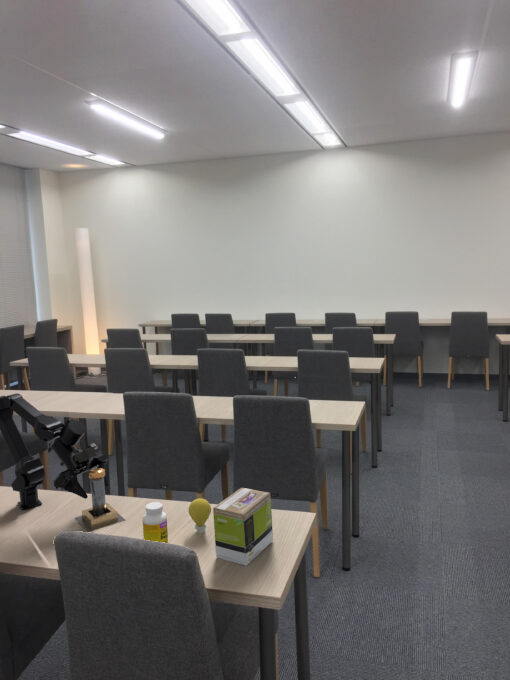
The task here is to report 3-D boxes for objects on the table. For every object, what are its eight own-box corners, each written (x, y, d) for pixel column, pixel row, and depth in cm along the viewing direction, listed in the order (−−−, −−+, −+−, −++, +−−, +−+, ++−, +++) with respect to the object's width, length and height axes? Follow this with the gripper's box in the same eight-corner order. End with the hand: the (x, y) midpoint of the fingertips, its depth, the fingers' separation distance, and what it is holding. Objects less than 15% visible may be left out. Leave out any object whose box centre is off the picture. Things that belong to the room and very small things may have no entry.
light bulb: (202, 523, 168) (201, 492, 167) (216, 530, 163) (215, 498, 162) (185, 531, 163) (183, 499, 162) (199, 539, 159) (197, 506, 157)
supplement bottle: (163, 556, 150) (160, 511, 148) (140, 554, 151) (137, 510, 149) (171, 544, 156) (169, 501, 154) (149, 542, 158) (147, 499, 156)
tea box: (243, 533, 161) (241, 485, 159) (273, 541, 156) (272, 492, 154) (214, 558, 148) (212, 506, 146) (246, 567, 143) (244, 513, 141)
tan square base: (74, 520, 173) (73, 510, 173) (111, 509, 180) (110, 499, 180) (88, 534, 163) (87, 524, 163) (126, 522, 170) (125, 512, 170)
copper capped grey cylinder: (89, 518, 172) (86, 470, 170) (104, 514, 175) (101, 467, 173) (95, 524, 168) (91, 475, 166) (110, 519, 171) (107, 471, 169)
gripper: (57, 447, 163) (88, 488, 159) (101, 429, 179) (130, 466, 176) (40, 469, 167) (70, 509, 164) (84, 450, 184) (112, 486, 180)
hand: (97, 492), depth 171 cm, fingers open, 9 cm apart
